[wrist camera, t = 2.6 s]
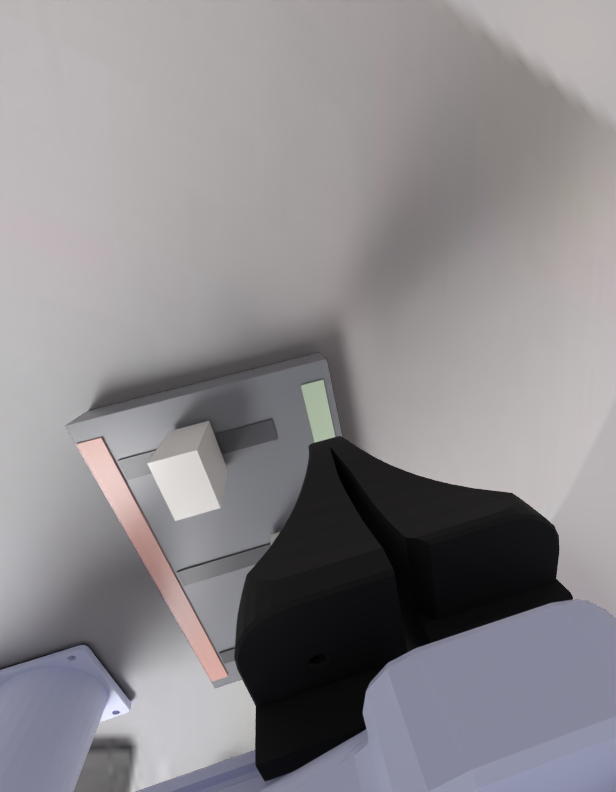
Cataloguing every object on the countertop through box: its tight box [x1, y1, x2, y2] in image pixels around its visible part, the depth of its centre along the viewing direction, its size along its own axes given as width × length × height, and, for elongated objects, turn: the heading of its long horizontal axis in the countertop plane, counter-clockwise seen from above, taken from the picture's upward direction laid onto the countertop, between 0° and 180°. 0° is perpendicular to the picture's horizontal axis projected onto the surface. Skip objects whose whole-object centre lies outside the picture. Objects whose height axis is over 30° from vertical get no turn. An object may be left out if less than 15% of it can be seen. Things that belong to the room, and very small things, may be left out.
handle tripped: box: [147, 421, 228, 521], centre depth 14 cm, size 2×3×3 cm, turn 13°
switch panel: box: [65, 352, 342, 688], centre depth 19 cm, size 13×22×2 cm, turn 13°
